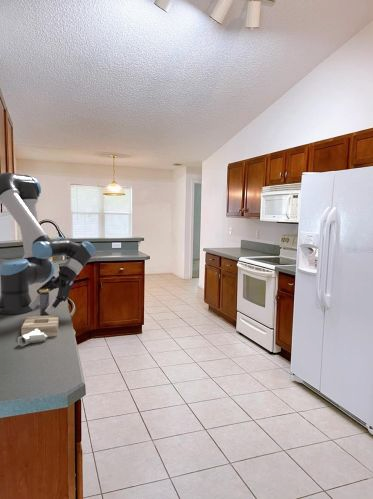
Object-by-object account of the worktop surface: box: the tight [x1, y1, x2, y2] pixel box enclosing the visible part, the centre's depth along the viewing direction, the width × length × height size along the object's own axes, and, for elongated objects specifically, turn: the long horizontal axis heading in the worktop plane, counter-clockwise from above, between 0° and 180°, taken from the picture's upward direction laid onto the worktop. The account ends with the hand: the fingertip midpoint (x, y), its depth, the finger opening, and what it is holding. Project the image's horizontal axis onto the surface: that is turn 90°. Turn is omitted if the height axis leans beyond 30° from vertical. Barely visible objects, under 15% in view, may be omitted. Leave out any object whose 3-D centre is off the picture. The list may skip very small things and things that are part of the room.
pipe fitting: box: [17, 329, 48, 347], centre depth 122 cm, size 8×4×7 cm
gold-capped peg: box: [38, 288, 51, 316], centre depth 148 cm, size 4×4×13 cm
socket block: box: [20, 314, 60, 338], centre depth 134 cm, size 14×12×4 cm
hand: (39, 310), depth 146 cm, fingers open, 12 cm apart
